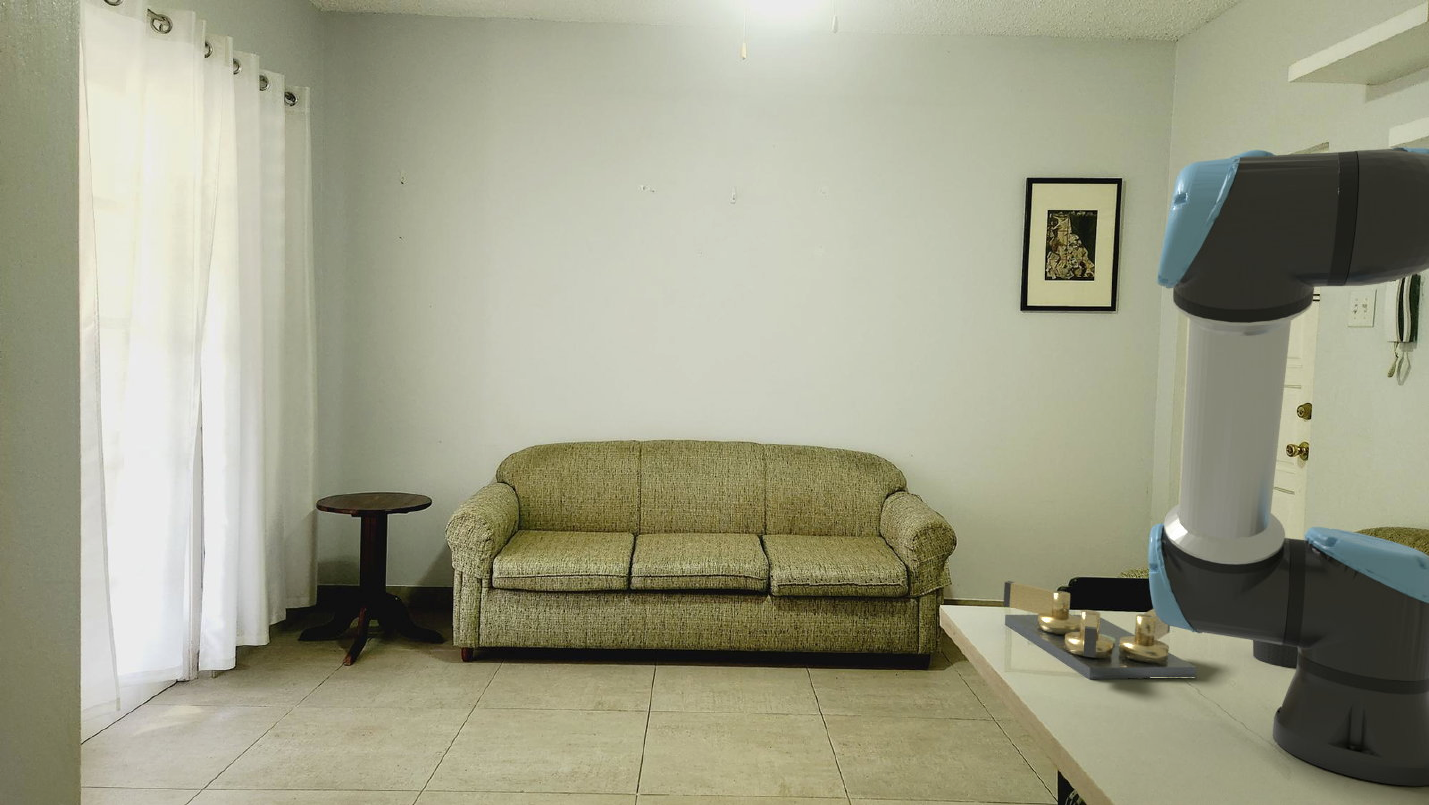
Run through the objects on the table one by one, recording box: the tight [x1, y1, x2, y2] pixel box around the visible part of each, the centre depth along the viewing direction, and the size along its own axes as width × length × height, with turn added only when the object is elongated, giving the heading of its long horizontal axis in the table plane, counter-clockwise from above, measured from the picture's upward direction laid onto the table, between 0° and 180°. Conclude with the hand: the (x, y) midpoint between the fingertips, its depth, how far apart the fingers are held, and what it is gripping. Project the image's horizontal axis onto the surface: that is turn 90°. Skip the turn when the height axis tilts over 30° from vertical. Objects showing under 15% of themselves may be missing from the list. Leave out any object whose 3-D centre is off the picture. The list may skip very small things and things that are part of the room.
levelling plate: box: [1004, 614, 1198, 680], centre depth 131 cm, size 24×15×2 cm, turn 8°
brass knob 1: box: [1002, 580, 1081, 634], centre depth 136 cm, size 12×6×5 cm, turn 46°
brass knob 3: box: [1119, 608, 1171, 662], centre depth 126 cm, size 12×6×5 cm, turn 137°
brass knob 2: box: [1064, 609, 1113, 658], centre depth 122 cm, size 12×6×5 cm, turn 158°
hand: (1230, 443), depth 127 cm, fingers closed
